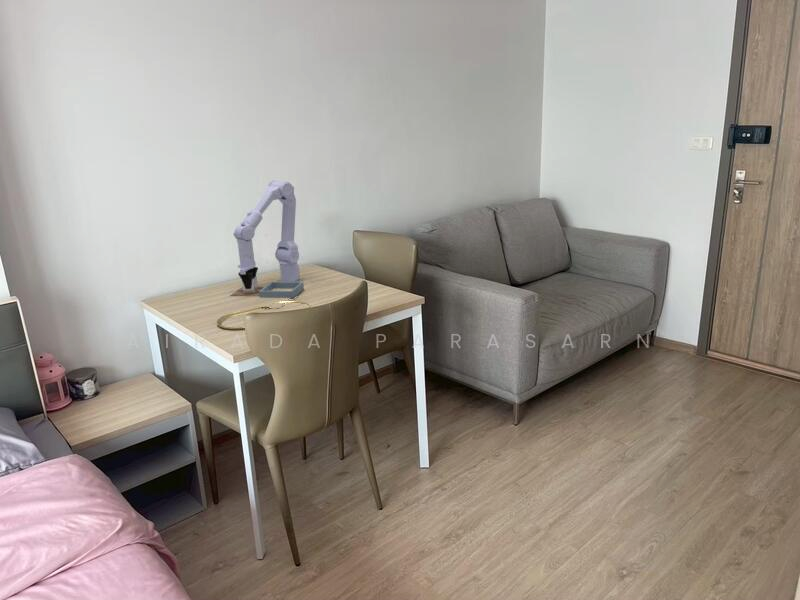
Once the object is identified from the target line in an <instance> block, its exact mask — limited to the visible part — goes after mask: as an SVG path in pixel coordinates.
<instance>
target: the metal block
mask: <svg viewBox="0 0 800 600" xmlns="http://www.w3.org/2000/svg"><path fill="white" fill-rule="evenodd" d="M257 277H258V276H257V275H256V276H252V279H251V289H245V286H244V283H243V281H242V280H241V285H242V286H241V288H242V287H243V293H255V292H256V291H257V290H258V287H259V286H258V278H257Z"/></svg>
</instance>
